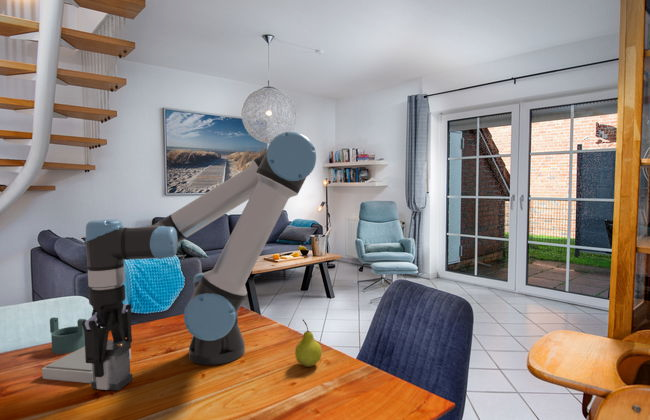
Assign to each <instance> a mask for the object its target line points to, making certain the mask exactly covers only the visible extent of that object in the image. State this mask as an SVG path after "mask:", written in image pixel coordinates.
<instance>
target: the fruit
mask: <svg viewBox="0 0 650 420" xmlns="http://www.w3.org/2000/svg"><path fill="white" fill-rule="evenodd" d="M302 322H303V323H304V325H305V327H306V329H307V330H306V331H305V332H304V333H303V336H302V339H301V340H299V342H298V343H297V344H296V347H295V351H294V355H295V359H296V361H297V362H298V363H299V364H300V365H301V366H302V367H304V368H310V367H313V366H315V365H317V364H318V363H319V361H320V360H321V358H322V354H323V353H322V352H323V349H322V346H321V344H320V343H319V342H318V341H316V340H315V337H314V334H313V333H312V331H309V328H308V324H307V323H306V321H305V319H304V318H302Z"/></svg>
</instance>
